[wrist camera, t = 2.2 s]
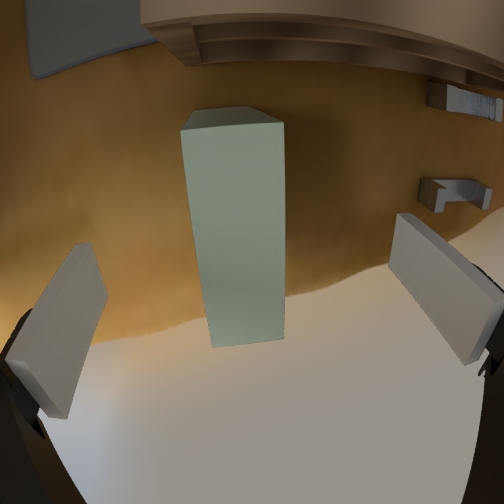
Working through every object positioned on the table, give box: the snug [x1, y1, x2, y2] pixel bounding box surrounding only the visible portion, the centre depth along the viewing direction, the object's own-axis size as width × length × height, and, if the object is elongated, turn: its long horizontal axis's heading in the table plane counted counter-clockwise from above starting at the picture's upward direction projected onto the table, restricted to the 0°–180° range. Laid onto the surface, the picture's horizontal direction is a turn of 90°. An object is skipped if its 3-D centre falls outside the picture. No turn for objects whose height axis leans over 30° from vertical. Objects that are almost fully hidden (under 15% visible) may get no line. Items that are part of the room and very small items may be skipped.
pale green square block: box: [180, 106, 285, 348], centre depth 17 cm, size 4×10×10 cm, turn 3°
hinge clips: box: [418, 82, 503, 213], centre depth 20 cm, size 7×10×2 cm
